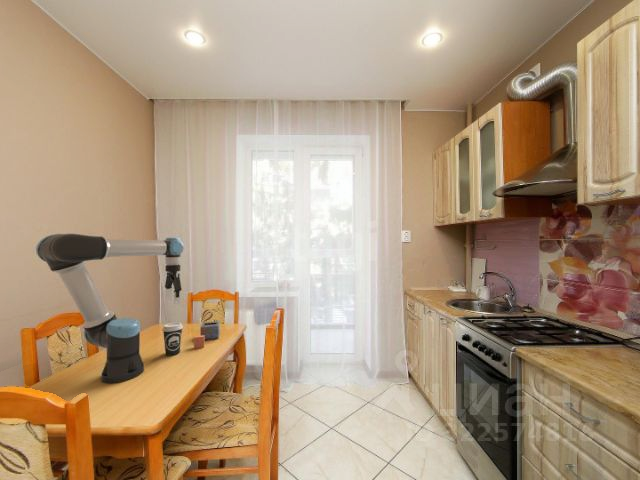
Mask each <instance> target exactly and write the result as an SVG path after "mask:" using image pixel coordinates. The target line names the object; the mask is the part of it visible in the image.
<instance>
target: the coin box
mask: <svg viewBox="0 0 640 480" xmlns="http://www.w3.org/2000/svg"><path fill="white" fill-rule="evenodd" d="M220 322H221V321H220V320H217V321H215V320H213V321H202V324H201V325H200V329H199V331H200V336H202V335H204V337H205V341H209V340H210V341H211V340H218V339H220V335H221V323H220Z"/></svg>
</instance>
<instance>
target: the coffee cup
mask: <svg viewBox="0 0 640 480" xmlns="http://www.w3.org/2000/svg"><path fill="white" fill-rule="evenodd" d="M183 328H184V326H183V324H182V323H181V322H176V321H175V322H170V323H166V324H164V326H163V327H162V330H161V331H163V339H164V342H163V343H164V351H165V356H166V357H172V356H177V355H179V354H180V352H181V343H182V332H183Z"/></svg>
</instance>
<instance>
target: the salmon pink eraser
mask: <svg viewBox="0 0 640 480" xmlns="http://www.w3.org/2000/svg"><path fill="white" fill-rule="evenodd" d="M205 341H206V340H205V337H204V335H202V336H201V335H194V337H193V349H194V350H195V349H203V348H205V346H206V345H205Z"/></svg>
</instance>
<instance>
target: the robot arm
mask: <svg viewBox="0 0 640 480" xmlns="http://www.w3.org/2000/svg"><path fill="white" fill-rule="evenodd" d="M184 247H185V246H184V244H183V242H182V241H181V239H180V238H179V237H166V238H165V240H159V239H123V238H122V239H119V238H118V239H114V238H112V239H111V238H105V237H104V236H97V235H96V236H95V235H87V234H86V235H85V234H80V233H79V234H78V233H56V234H50V235H48V236H45V237H44V238H42V239H41V240H40V241H39V242H38V243H37V244H36V247H35V252H36V255H37V257H38V258H39V259H40V260H42V261H43V262H45V263H46V264H47V265H48V266H47V267H48V268H49V269H50V271H51V272H53V273H56V274H58V275H59V277H60V278H61V280H62V282H63V284H64V286H65V287H66V289H67V291H68V293H69V295H70V296H71V298H72V300H73V302H74V304H75V305H76V307H77V309H78V310H79V313H80V315H81V316H82V318H83V320H84V323H83V324H82V327H83V329H84V332H83V337H84V340H86V341H87V342H88V343H89V344H90V345H93V346H95V347H96V346H97V347H101V348H104V349H106V361H105V364H104V366H103V369H102V372H101V376H100V377H101V378H100V380H101V383H105V384H115V383H121V382H125V381H128V380H131V379H134V378H136V377H139V376H140V375H141V374H143V373H144V371H145V363H144V361H143V359H142V357H141V356H142V355H141V354H140V353H141V352H140V334H141V333H140V331H141V327H140V322H139V321H138V319H136V318H131V317H128V318H126V317H124V318H123V317H121V318H118V317H117V316H116V313H115V312H114V311H111V310H109V309H108V307H107V306H106V303H105V302H104V300H103V298H102V296H101V293H100V292H99V290H98V288H97V286H96V284H95V282H94V280H93V277H92V276H91V274H90V272H89V270H88V269H87V266H86V263H87V261H89V262H90V261H97V260H99V261H100V260H104V259H105V258H112V257H113V258H114V257H118V258H119V257H141V256H142V257H145V256H146V257H148V256H149V257H150V256H165V268H164V269H165V272H166V278H165V282H164V288H165V293H166V294H165V297H166V298H165V301H171V300H172V296H173V303H174V304H180V303H181V301H180V300H181V291H182V290H183V289H182V284H181V278H180V273H179V272H180V271H181V260H182V258H181V254H182V253H183V252H184V249H185V248H184ZM172 289H174V290H173V291H172ZM172 293H173V294H172Z"/></svg>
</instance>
